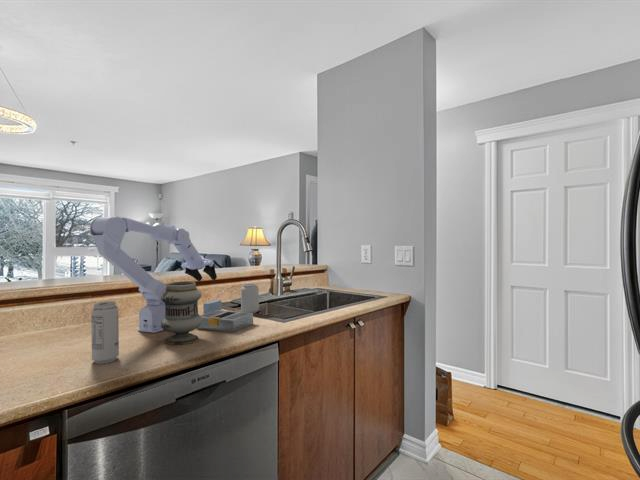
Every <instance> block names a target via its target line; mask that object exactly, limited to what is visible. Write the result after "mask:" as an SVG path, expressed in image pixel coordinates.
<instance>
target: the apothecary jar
mask: <svg viewBox="0 0 640 480" xmlns="http://www.w3.org/2000/svg"><path fill="white" fill-rule="evenodd" d="M166 285H167V287H166V290H165V291H164V292H163V293H162V295H161V300H162V301H163V302H165V317H164V318H163V319H162V321H161V327H162V328H163V329H164V330H163V331H165V332H166V333H167V332H168V333H171V334H173V335H171V336H168V337H167V338H165V340H164V343H165V344H167V345H171V346H173V345H174V346H175V345H176V346H177V345H188V344H191V343H195V342H197V341H198V340H199V339H200V338H199V336H198V335H197V334H193V333H191V332H193V331H195V330H197V329H198V327H199V326H200V325H201V324H202V317H201V316H200V315H201V314H199V308H198V306H199V305H198V303H199V302H198V301H199V300H200V299H201V298H202V292H201V290H200V289H198V288H197V285H196V282H195V281H189V280H186V281H183V280H182V281H175V282H169V283H166Z"/></svg>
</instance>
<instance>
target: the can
mask: <svg viewBox="0 0 640 480" xmlns="http://www.w3.org/2000/svg"><path fill="white" fill-rule="evenodd" d="M259 294H260V289H259V286H258V284H257V283H244V284H242V287H240V312H248V313H253V314H256V313H257V312H259V310H260V307H259V305H260V295H259Z"/></svg>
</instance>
